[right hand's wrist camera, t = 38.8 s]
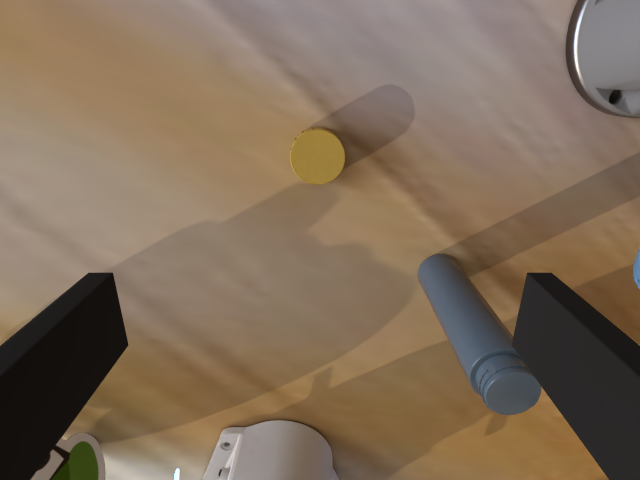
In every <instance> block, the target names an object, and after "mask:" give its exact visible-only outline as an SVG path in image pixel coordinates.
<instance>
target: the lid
mask: <svg viewBox="0 0 640 480" xmlns="http://www.w3.org/2000/svg"><path fill="white" fill-rule="evenodd" d="M294 141H295V142H294V144H293V146H292V147H291V153H290V161H291V165H292V168H293V170H294V172H295V173H296V175H297V176H298V177H299V178H300V179H302V180H303V181H305V182H307V183H310V184H314V185H321V184H326V183H329V182H331V181H332V180H334V179H335V178H336V177H337V176H338V175H339V174H340V173H341V171H342V169H343V167H344V163H345V160H346V158H345V151H344V149H345V148H344V146H343V145H342V142H341V140H340V137H338V136H337V135H336V134H335V133H334V132H332V130H329V129H326V128H323V127H314V128H313V127H312V128H310V129H307V130H305V131H302V133H301V134H300V135H299V136H298V137H297V138H295V140H294Z"/></svg>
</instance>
